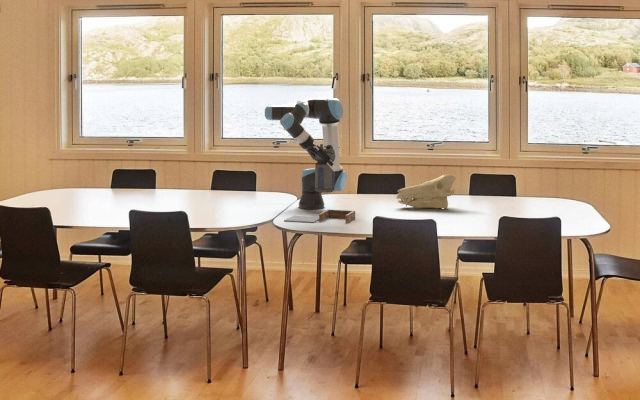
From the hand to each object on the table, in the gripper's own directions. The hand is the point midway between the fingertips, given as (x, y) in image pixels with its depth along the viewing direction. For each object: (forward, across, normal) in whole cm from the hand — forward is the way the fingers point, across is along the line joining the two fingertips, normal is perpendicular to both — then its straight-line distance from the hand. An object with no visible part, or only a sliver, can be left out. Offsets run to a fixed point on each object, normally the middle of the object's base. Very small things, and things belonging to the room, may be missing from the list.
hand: (330, 168), depth 392 cm
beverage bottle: (+7, 0, -11) cm, 13 cm away
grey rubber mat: (+10, -5, -28) cm, 30 cm away
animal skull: (+71, -21, +32) cm, 81 cm away
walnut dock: (+21, +2, -17) cm, 27 cm away
